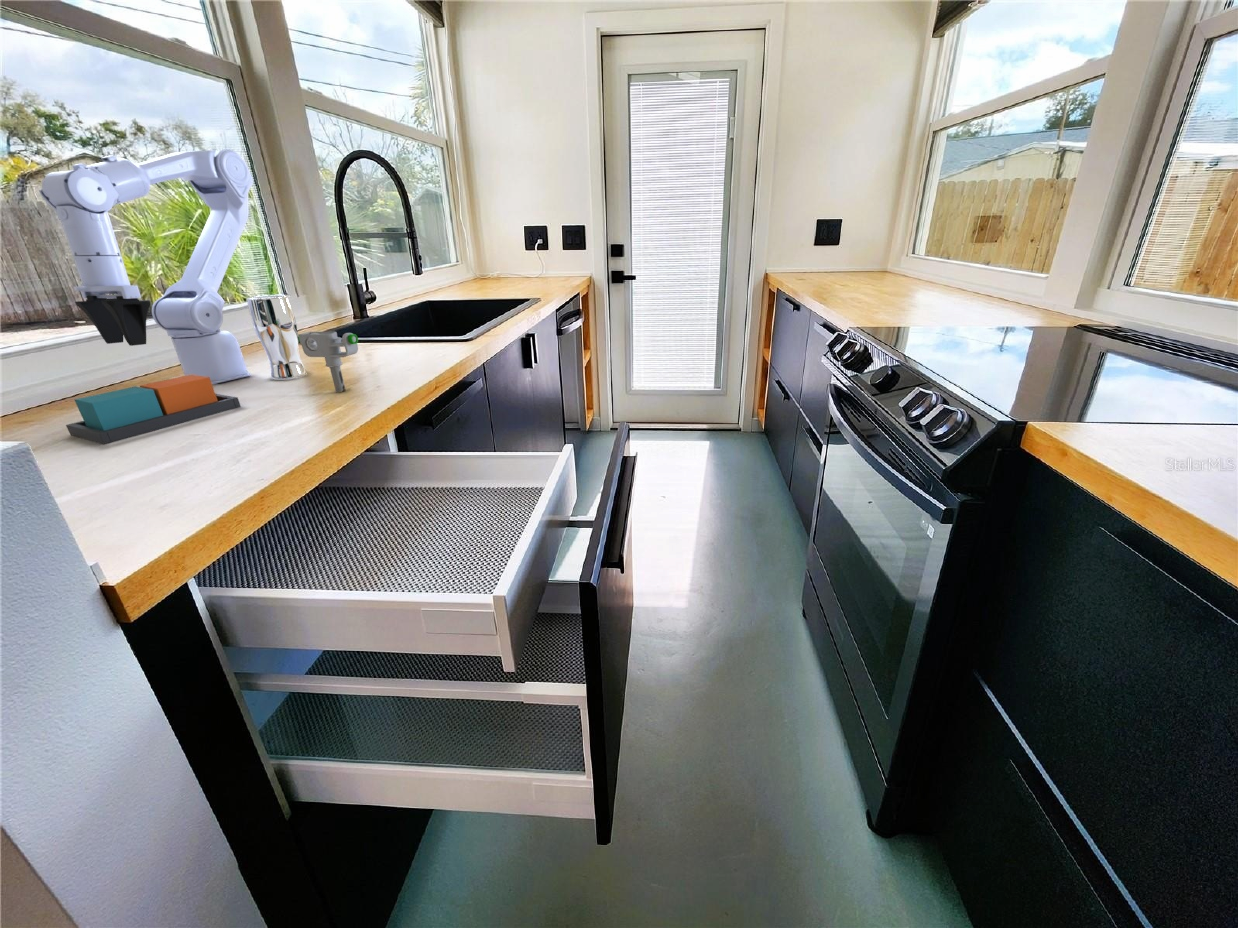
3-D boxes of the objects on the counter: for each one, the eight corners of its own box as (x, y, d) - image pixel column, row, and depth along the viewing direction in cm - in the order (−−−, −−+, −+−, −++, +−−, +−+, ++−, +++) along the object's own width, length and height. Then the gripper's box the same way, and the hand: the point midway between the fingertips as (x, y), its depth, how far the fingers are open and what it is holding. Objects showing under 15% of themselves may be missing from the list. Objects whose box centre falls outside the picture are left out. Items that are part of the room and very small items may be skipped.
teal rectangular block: (148, 418, 80) (135, 386, 78) (166, 422, 78) (153, 389, 76) (89, 434, 74) (73, 399, 72) (107, 438, 72) (91, 403, 70)
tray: (207, 403, 89) (203, 391, 88) (242, 409, 85) (237, 397, 84) (71, 438, 74) (65, 424, 74) (105, 447, 70) (99, 433, 69)
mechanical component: (361, 394, 90) (347, 334, 86) (309, 393, 92) (293, 334, 88) (372, 389, 93) (359, 331, 89) (321, 388, 95) (306, 331, 91)
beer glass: (267, 382, 100) (242, 299, 94) (270, 375, 106) (247, 296, 100) (309, 377, 103) (287, 296, 97) (310, 370, 109) (289, 293, 103)
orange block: (202, 404, 86) (191, 374, 84) (220, 408, 84) (209, 377, 82) (152, 418, 80) (139, 385, 78) (170, 421, 78) (157, 388, 76)
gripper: (43, 257, 84) (75, 345, 89) (86, 254, 78) (118, 349, 82) (100, 257, 90) (126, 340, 95) (144, 255, 84) (170, 343, 88)
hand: (126, 344), depth 89 cm, fingers open, 7 cm apart
